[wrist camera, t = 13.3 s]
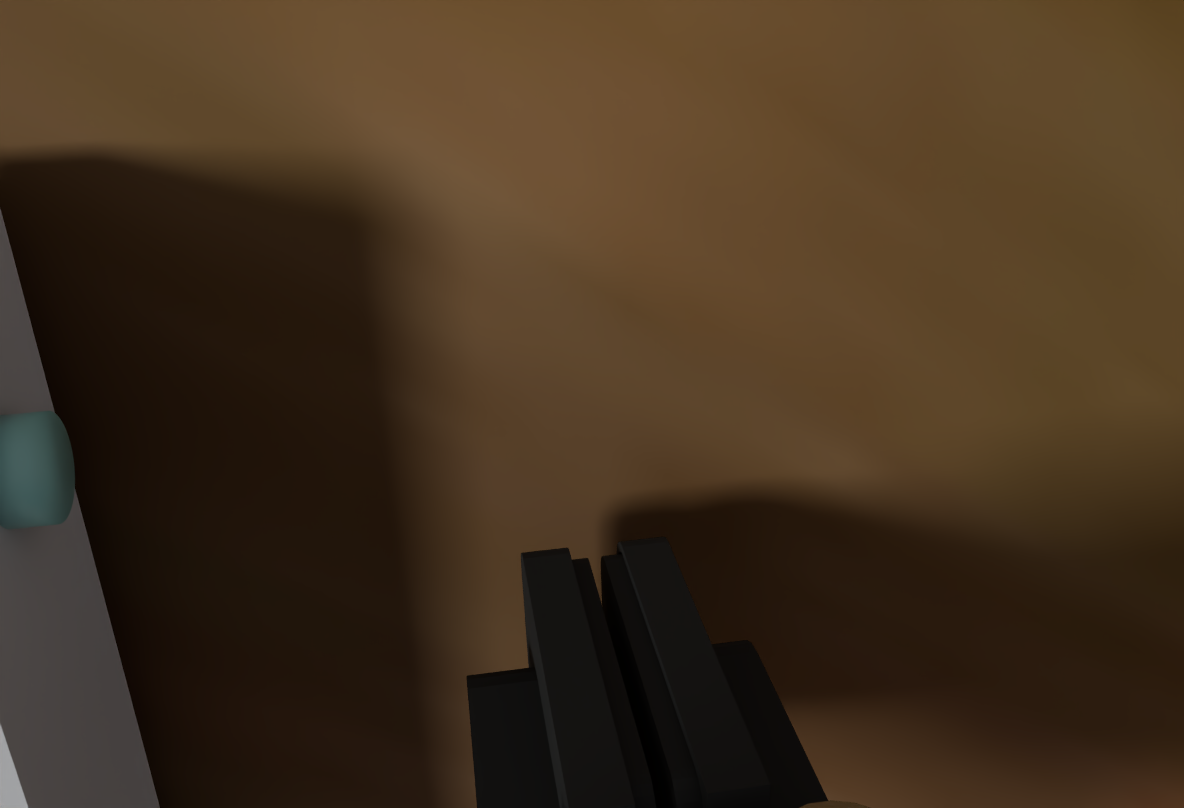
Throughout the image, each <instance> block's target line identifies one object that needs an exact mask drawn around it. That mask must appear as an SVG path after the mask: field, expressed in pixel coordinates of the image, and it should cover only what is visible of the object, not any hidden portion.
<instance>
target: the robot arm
mask: <svg viewBox="0 0 1184 808" xmlns="http://www.w3.org/2000/svg"><path fill="white" fill-rule="evenodd" d="M521 568H522V582H523V595H524V609H525V623H526V636H527V650H528V664H529V668H524V669H516V670H508V671H500V672H493V673H485V674H477V675H469V676H467V687H468V700H469V712H470V724H471V737H472V749H473V761H474V774H475V786H476V798H477V808H870V807H867V806H864V805H861V804H858V803H852V802H842V801H828V799H827V797H826V795H825V793H824V791H823V789H822V787H821V785H820V783H819V780H818V778H817V776H816V774H815V772H814V770H813V768H812V766H811V764H810V762H809V760H808V757H807V755H806V753H805V751H804V749H803V747H802V745H801V743H800V741H799V739H798V737H797V735H796V732H795V730H794V728H793V726H792V724H791V722H790V720H789V718H788V716H787V714H786V712H785V709H784V707H783V705H782V703H781V701H780V699H779V697H778V695H777V693H776V691H775V689H774V687H773V684H772V682H771V680H770V678H769V676H768V674H767V672H766V670H765V668H764V666H763V664H762V661H761V659H760V657H759V655H758V653H757V651H756V650H755V648H754V646H753V645H752V643H751V642H749V641H747V640H743V641H735V642H727V643H720V644H711V642H710V640H709V637H708V635H707V633H706V630H705V628H704V625H703V623H702V621H701V618H700V616H699V614H698V611H697V609H696V606H695V604H694V602H693V599H692V597H691V595H690V592H689V590H688V587H687V585H686V583H685V580H684V578H683V576H682V573H681V571H680V568H679V566H678V564H677V561H676V559H675V557H674V554H673V552H672V550H671V547H670V545H669V542H668V541H667V539H666V537H657V538H648V539H639V540H630V541H621V542H618V544H617V555H609V556H602V558H601V585H602V604H601V601H600V598H599V594H598V591H597V587H596V584H595V580H594V577H593V573H592V570H591V566H590V563H589V560H588V558H583V559H574V560H572V559H571V555H570V552H569V549H568V548H560V549H551V550H543V551H534V552H525V553H521Z"/></svg>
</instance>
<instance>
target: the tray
mask: <svg viewBox="0 0 1184 808" xmlns="http://www.w3.org/2000/svg"><path fill="white" fill-rule="evenodd" d="M0 808H160V806H159V802H158V798H157V795H156V791H155V787H154V783H153V779H152V776H151V772H150V768H149V764H148V761H147V757H146V753H145V749H144V746H143V742H142V738H141V734H140V731H139V727H138V723H137V719H136V716H135V712H134V708H133V704H132V701H131V697H130V693H129V689H128V686H127V682H126V678H125V674H124V671H123V667H122V663H121V659H120V656H119V652H118V648H117V644H116V641H115V637H114V633H113V629H112V626H111V622H110V618H109V614H108V611H107V607H106V603H105V599H104V596H103V592H102V588H101V584H100V581H99V577H98V573H97V569H96V566H95V562H94V558H93V554H92V551H91V547H90V543H89V539H88V535H87V532H86V528H85V524H84V520H83V517H82V513H81V509H80V505H79V502H78V498H77V494H76V490H75V468H74V459H73V453H72V448H71V443H70V440H69V436H68V434H67V431H66V428H65V426H64V424H63V422H62V421H61V419H60V418H59V417H58V415H57V414H55V412H54V408H53V404H52V400H51V397H50V393H49V389H48V385H47V382H46V378H45V374H44V370H43V367H42V363H41V359H40V355H39V352H38V348H37V344H36V340H35V337H34V333H33V329H32V325H31V322H30V318H29V314H28V310H27V307H26V303H25V299H24V295H23V292H22V288H21V284H20V280H19V276H18V273H17V269H16V265H15V261H14V258H13V254H12V250H11V246H10V243H9V239H8V235H7V231H6V228H5V224H4V220H3V216H2V213H1V209H0Z"/></svg>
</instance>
